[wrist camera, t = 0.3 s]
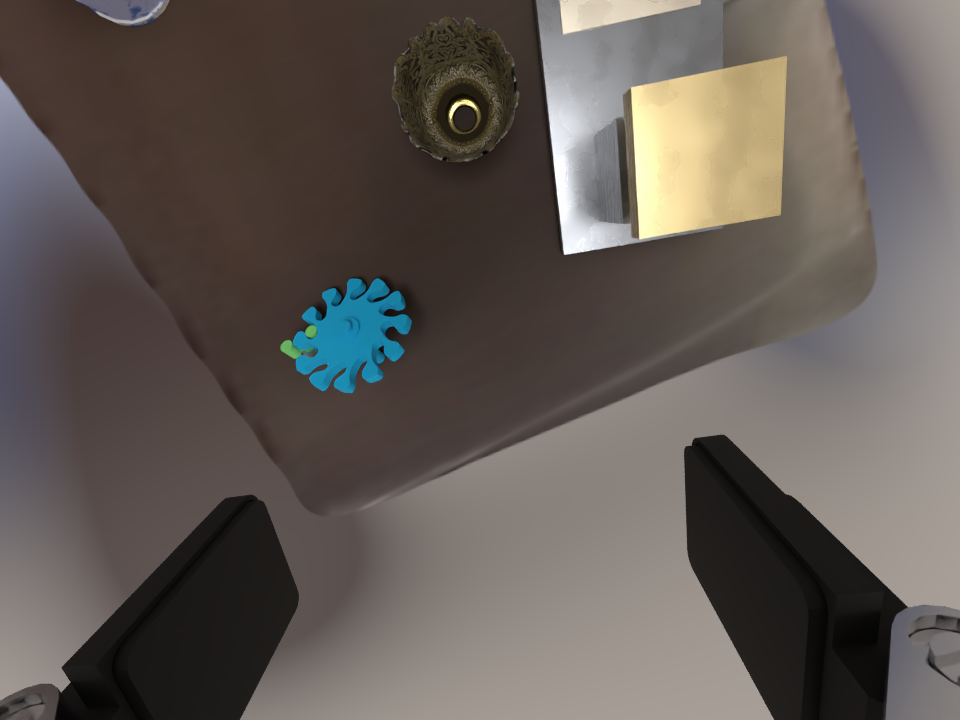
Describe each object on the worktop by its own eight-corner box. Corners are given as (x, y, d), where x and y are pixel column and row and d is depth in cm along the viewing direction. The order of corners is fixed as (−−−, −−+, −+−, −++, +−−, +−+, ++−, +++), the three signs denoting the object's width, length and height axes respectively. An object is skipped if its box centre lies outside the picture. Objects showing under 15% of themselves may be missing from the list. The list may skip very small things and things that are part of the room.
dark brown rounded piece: (405, 73, 32) (377, 31, 25) (505, 50, 32) (507, 0, 24) (427, 181, 35) (407, 172, 27) (521, 162, 34) (527, 148, 26)
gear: (407, 262, 35) (399, 378, 31) (434, 302, 40) (430, 405, 36) (287, 286, 38) (264, 395, 33) (326, 320, 43) (311, 419, 39)
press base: (515, -163, 28) (521, -301, 20) (711, -214, 27) (794, -380, 19) (561, 253, 36) (578, 264, 28) (713, 227, 35) (773, 232, 27)
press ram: (595, 120, 28) (631, 87, 21) (708, 97, 28) (786, 55, 20) (604, 231, 31) (639, 239, 23) (709, 213, 30) (780, 215, 22)
